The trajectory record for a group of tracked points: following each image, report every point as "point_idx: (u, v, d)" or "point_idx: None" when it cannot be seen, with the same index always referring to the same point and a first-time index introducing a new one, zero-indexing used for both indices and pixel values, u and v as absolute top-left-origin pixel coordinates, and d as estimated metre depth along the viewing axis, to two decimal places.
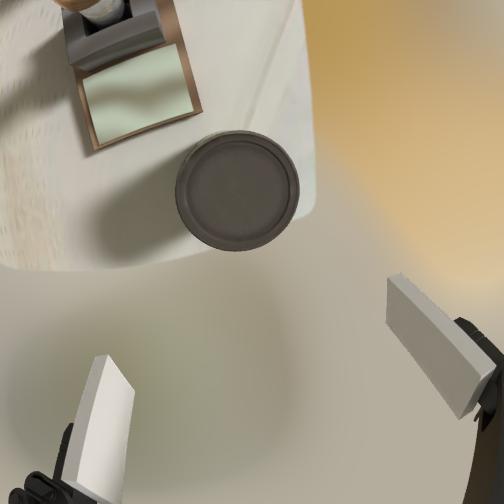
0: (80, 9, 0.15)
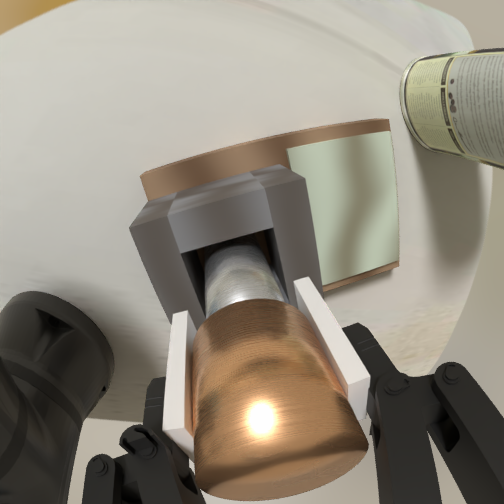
0: None
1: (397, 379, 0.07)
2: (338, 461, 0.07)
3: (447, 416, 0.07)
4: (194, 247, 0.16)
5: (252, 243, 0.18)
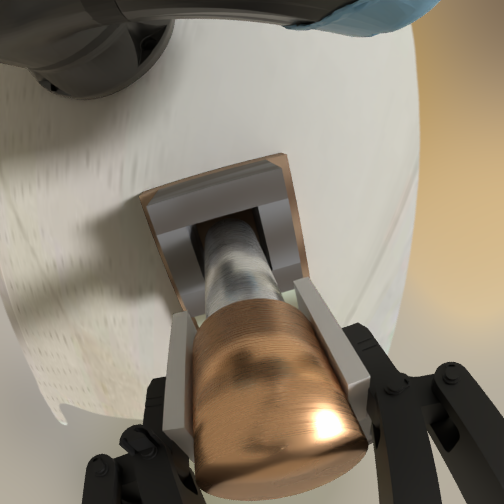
0: None
1: (397, 379, 0.07)
2: (338, 461, 0.07)
3: (447, 416, 0.07)
4: (261, 217, 0.22)
5: (252, 243, 0.19)
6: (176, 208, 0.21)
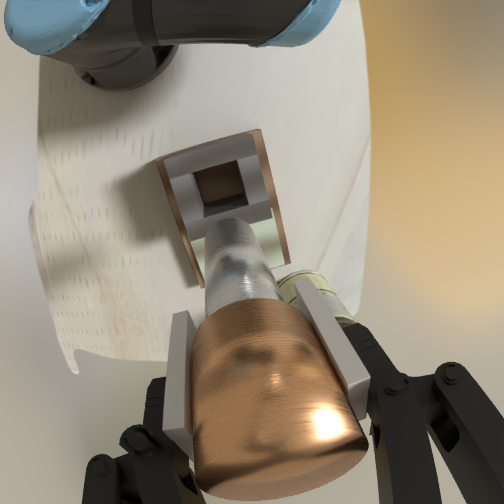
0: None
1: (397, 379, 0.07)
2: (338, 461, 0.07)
3: (447, 416, 0.07)
4: (240, 166, 0.32)
5: (252, 243, 0.18)
6: (183, 161, 0.30)
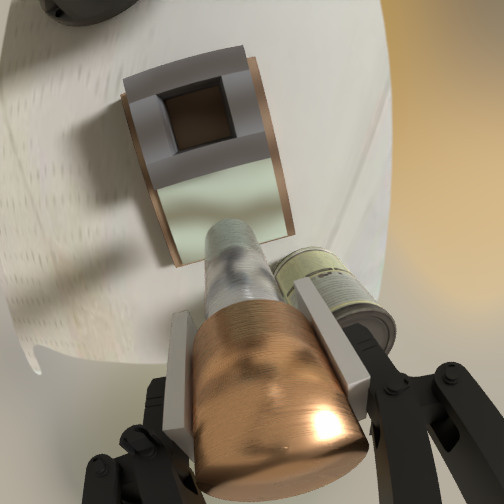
0: None
1: (397, 379, 0.07)
2: (338, 462, 0.07)
3: (447, 416, 0.07)
4: (225, 85, 0.21)
5: (252, 243, 0.18)
6: (148, 79, 0.19)
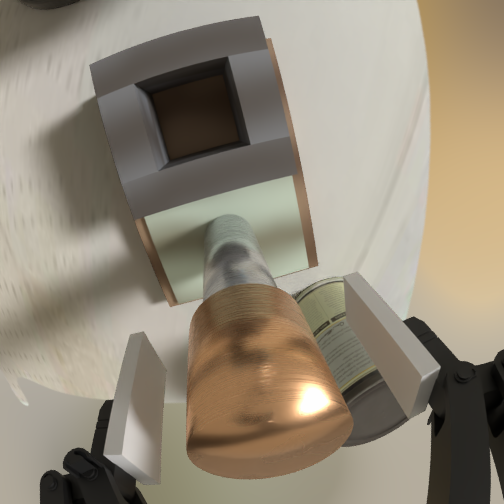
0: None
1: (466, 368, 0.07)
2: (324, 437, 0.08)
3: (499, 403, 0.06)
4: (233, 69, 0.14)
5: (249, 237, 0.19)
6: (124, 62, 0.13)
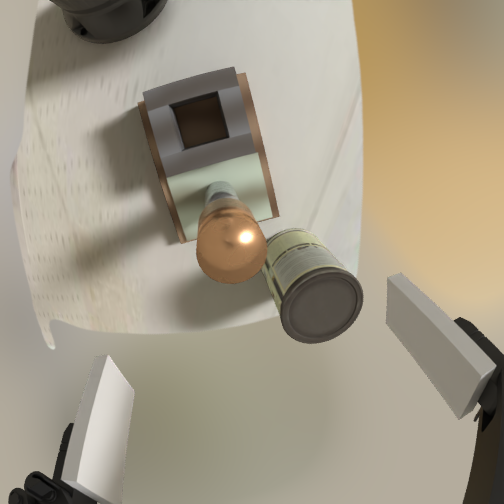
0: None
1: None
2: (254, 249, 0.22)
3: None
4: (220, 97, 0.28)
5: (231, 189, 0.33)
6: (162, 92, 0.27)
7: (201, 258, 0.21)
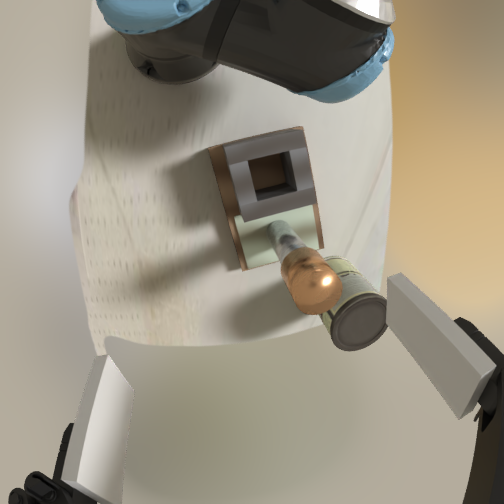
0: None
1: None
2: (334, 290, 0.30)
3: None
4: (291, 157, 0.36)
5: (293, 231, 0.41)
6: (242, 149, 0.35)
7: (297, 298, 0.29)
